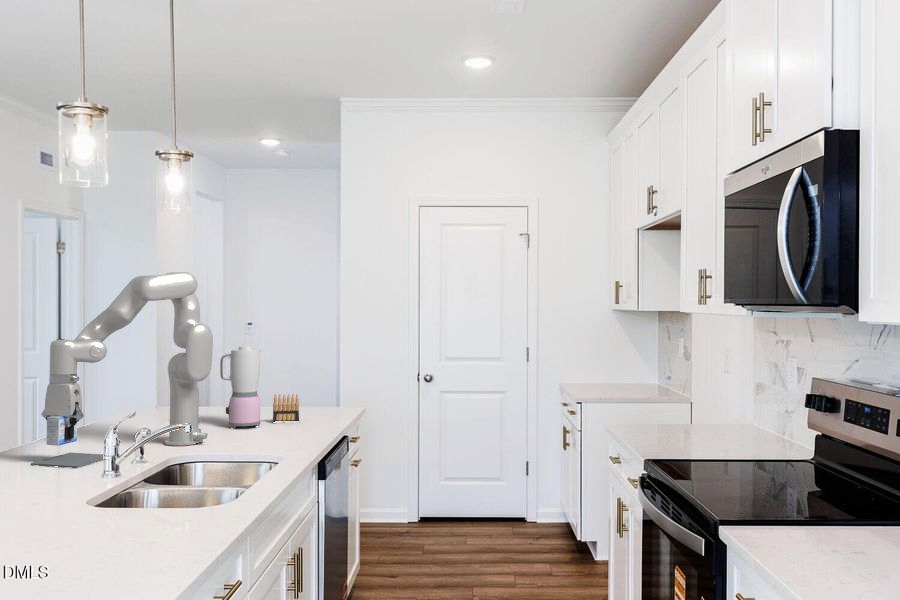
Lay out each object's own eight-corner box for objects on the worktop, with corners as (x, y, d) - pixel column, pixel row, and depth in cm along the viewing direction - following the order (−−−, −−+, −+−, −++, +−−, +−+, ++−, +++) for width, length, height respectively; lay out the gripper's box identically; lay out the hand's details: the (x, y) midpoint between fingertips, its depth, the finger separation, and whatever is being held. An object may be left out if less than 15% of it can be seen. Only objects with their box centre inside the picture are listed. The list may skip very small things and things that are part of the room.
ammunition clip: (299, 422, 291) (299, 393, 291) (299, 422, 289) (299, 393, 289) (272, 422, 289) (273, 393, 289) (272, 423, 287) (272, 394, 287)
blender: (258, 423, 287) (259, 345, 287) (262, 428, 275) (263, 347, 276) (218, 425, 280) (219, 346, 281) (220, 430, 269) (221, 347, 270)
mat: (113, 457, 222) (113, 455, 222) (76, 468, 206) (76, 466, 206) (70, 454, 225) (70, 452, 225) (30, 465, 209) (30, 463, 209)
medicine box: (58, 445, 212) (59, 417, 212) (45, 445, 213) (46, 416, 213) (77, 441, 220) (78, 413, 220) (64, 440, 220) (65, 412, 221)
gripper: (95, 379, 218) (94, 437, 218) (49, 377, 222) (48, 435, 222) (78, 381, 211) (76, 442, 211) (30, 379, 215) (29, 439, 214)
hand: (62, 438), depth 216 cm, fingers closed on medicine box, 4 cm apart
